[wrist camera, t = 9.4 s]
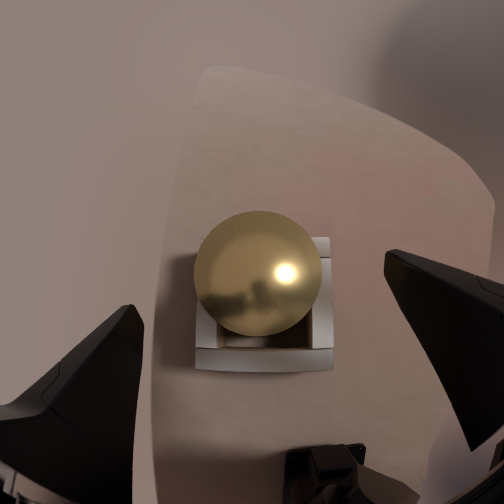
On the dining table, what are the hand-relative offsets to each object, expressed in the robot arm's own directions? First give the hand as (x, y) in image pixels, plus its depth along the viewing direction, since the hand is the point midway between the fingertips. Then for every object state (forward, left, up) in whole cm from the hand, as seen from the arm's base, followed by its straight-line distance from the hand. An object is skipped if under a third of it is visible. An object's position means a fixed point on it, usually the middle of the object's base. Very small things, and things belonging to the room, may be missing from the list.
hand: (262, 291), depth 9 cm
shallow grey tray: (+1, 0, -12) cm, 12 cm away
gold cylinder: (+1, 0, -12) cm, 12 cm away
